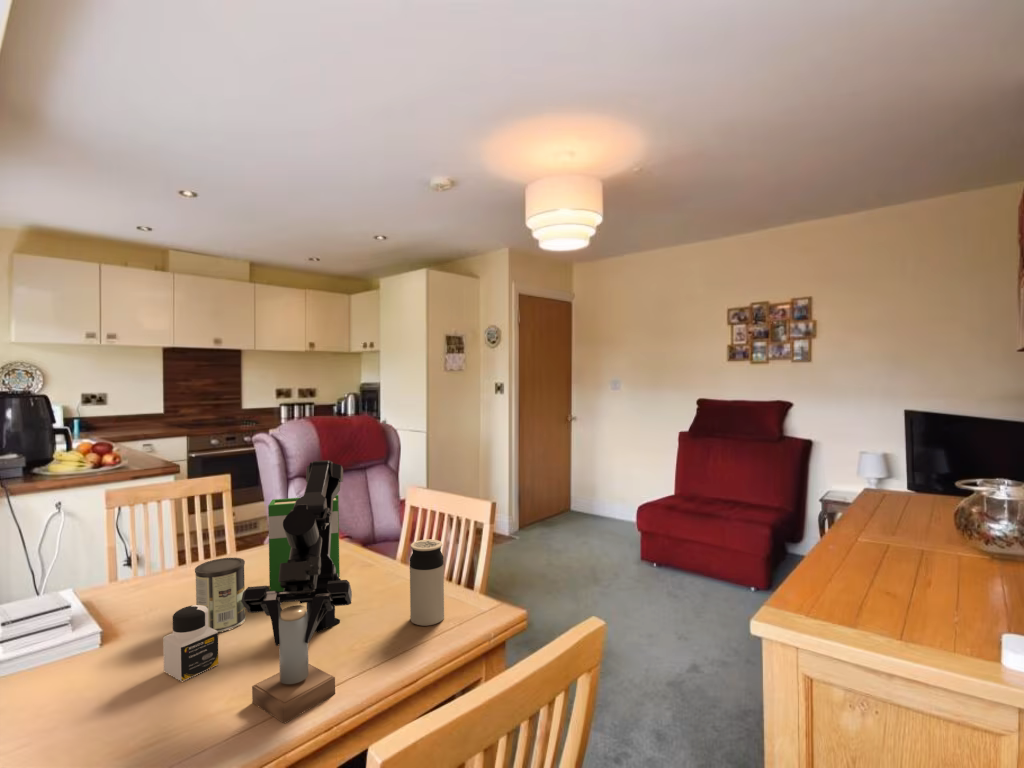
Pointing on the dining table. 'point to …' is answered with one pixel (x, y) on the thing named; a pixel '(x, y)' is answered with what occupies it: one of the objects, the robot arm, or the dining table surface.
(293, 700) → the walnut block
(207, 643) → the medicine bottle
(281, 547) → the hardback book
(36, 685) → the dining table surface
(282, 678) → the spice jar
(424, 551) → the travel mug
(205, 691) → the dining table surface
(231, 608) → the coffee can
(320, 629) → the robot arm
